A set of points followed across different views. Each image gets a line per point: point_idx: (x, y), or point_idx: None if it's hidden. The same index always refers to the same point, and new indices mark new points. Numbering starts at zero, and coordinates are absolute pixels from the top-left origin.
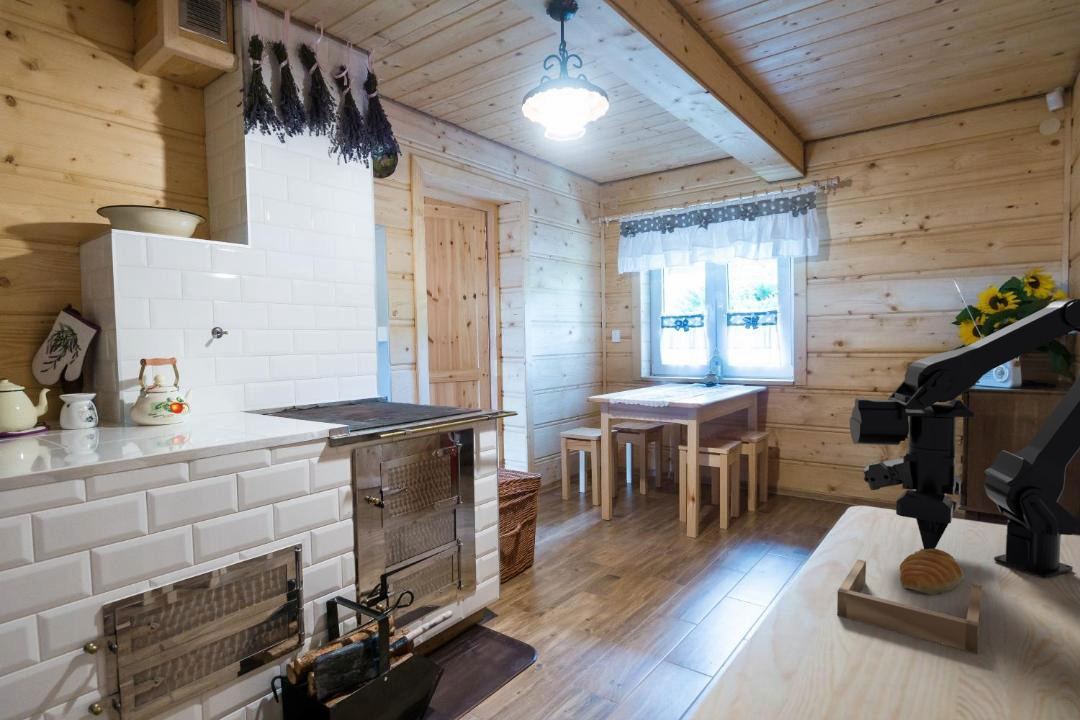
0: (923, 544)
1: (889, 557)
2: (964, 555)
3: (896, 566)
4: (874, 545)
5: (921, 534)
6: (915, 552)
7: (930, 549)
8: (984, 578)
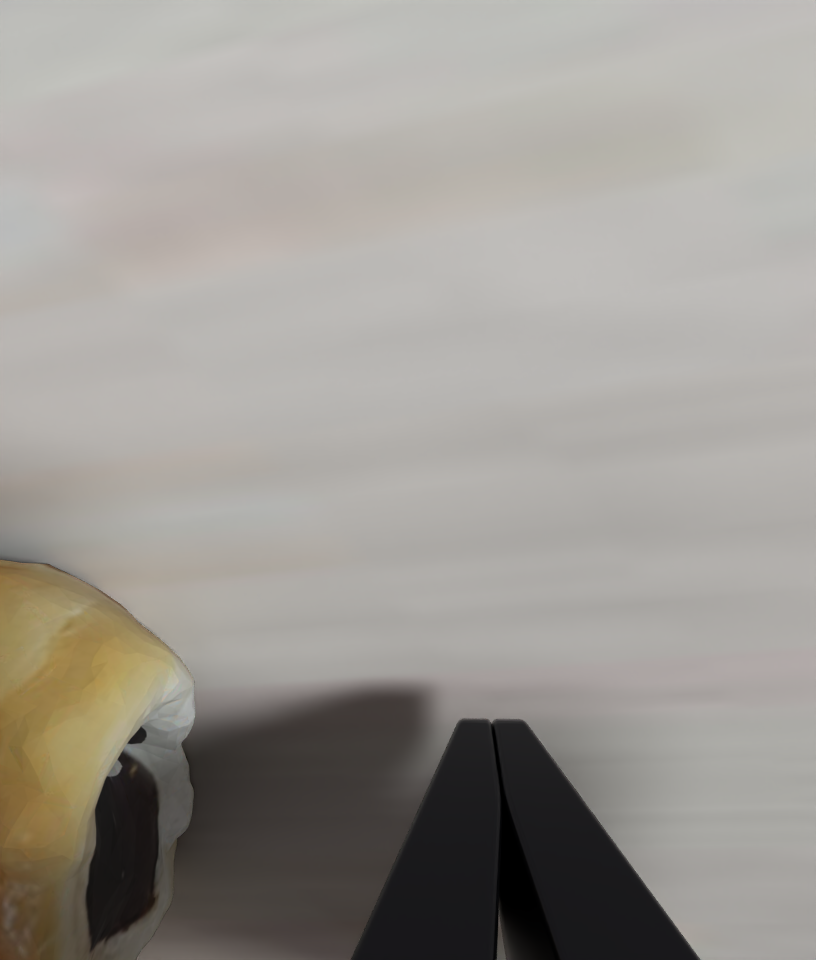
0: (437, 771)
1: (275, 373)
2: (749, 872)
3: (70, 473)
4: (607, 118)
5: (384, 904)
6: (8, 746)
7: (6, 933)
8: (317, 953)
